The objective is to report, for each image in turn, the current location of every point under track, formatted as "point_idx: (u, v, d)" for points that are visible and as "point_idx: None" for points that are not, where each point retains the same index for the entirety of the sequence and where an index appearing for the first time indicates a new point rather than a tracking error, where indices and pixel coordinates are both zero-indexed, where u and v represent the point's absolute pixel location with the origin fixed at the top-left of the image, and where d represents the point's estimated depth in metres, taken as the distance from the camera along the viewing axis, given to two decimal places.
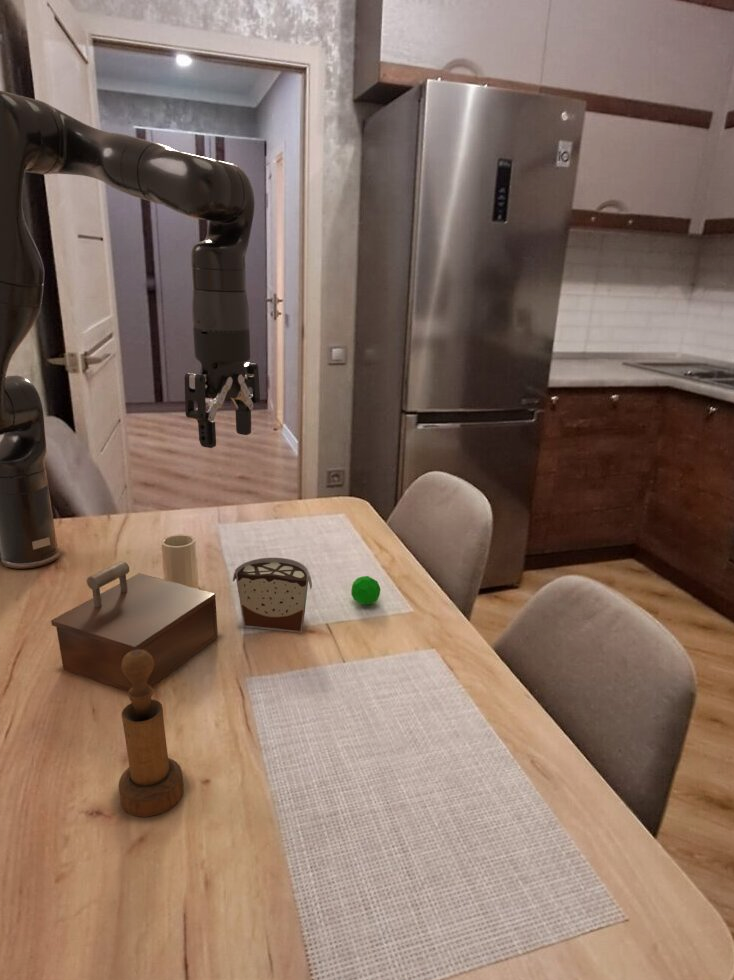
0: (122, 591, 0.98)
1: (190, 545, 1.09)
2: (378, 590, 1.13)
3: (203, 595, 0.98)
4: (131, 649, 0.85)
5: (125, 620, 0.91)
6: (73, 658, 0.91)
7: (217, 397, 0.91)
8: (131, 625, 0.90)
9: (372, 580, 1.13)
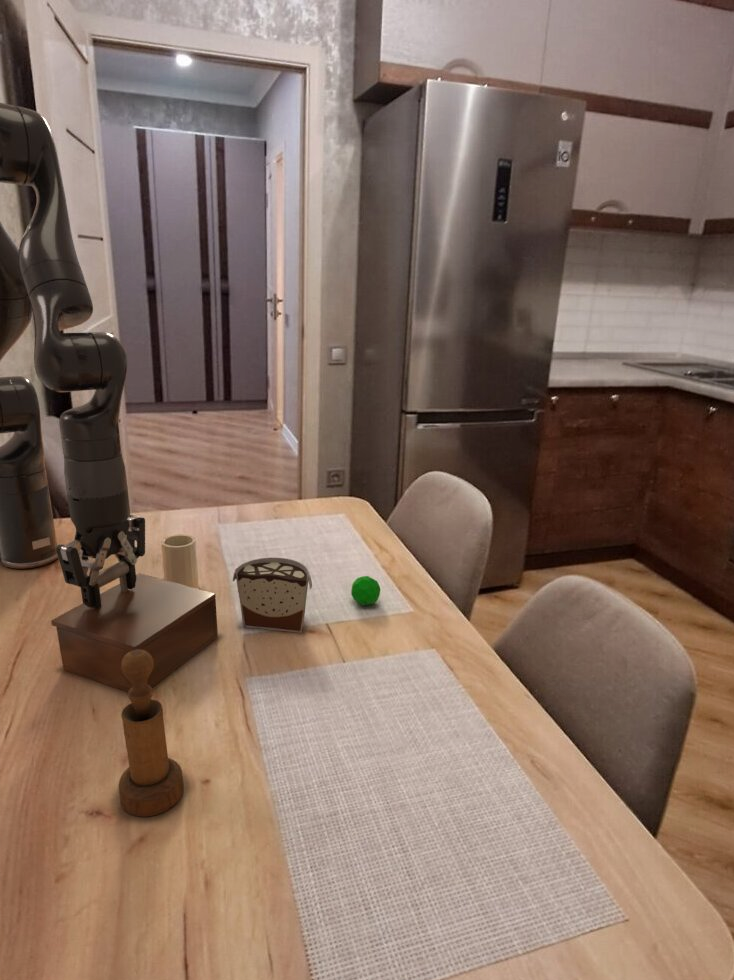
0: (122, 591, 0.98)
1: (190, 545, 1.09)
2: (378, 590, 1.13)
3: (203, 595, 0.98)
4: (131, 649, 0.85)
5: (125, 620, 0.91)
6: (73, 658, 0.91)
7: (96, 561, 0.90)
8: (131, 625, 0.90)
9: (372, 580, 1.13)
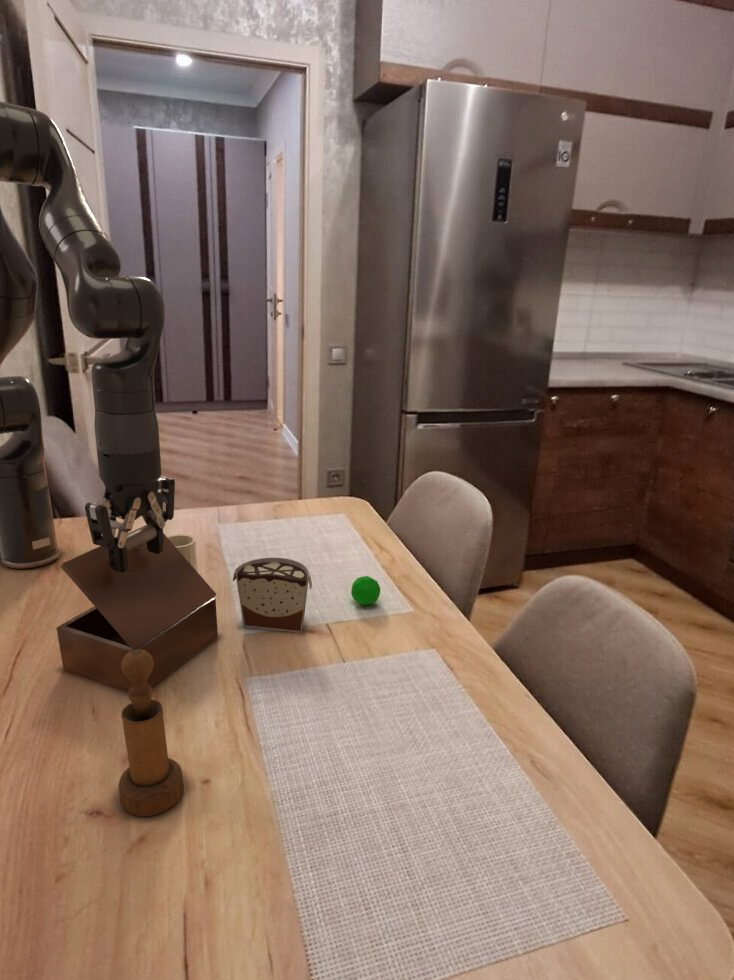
0: (135, 548, 0.94)
1: (190, 545, 1.09)
2: (378, 590, 1.13)
3: (205, 592, 0.98)
4: (131, 646, 0.85)
5: (132, 598, 0.89)
6: (73, 658, 0.91)
7: (125, 522, 0.85)
8: (137, 611, 0.88)
9: (372, 580, 1.13)
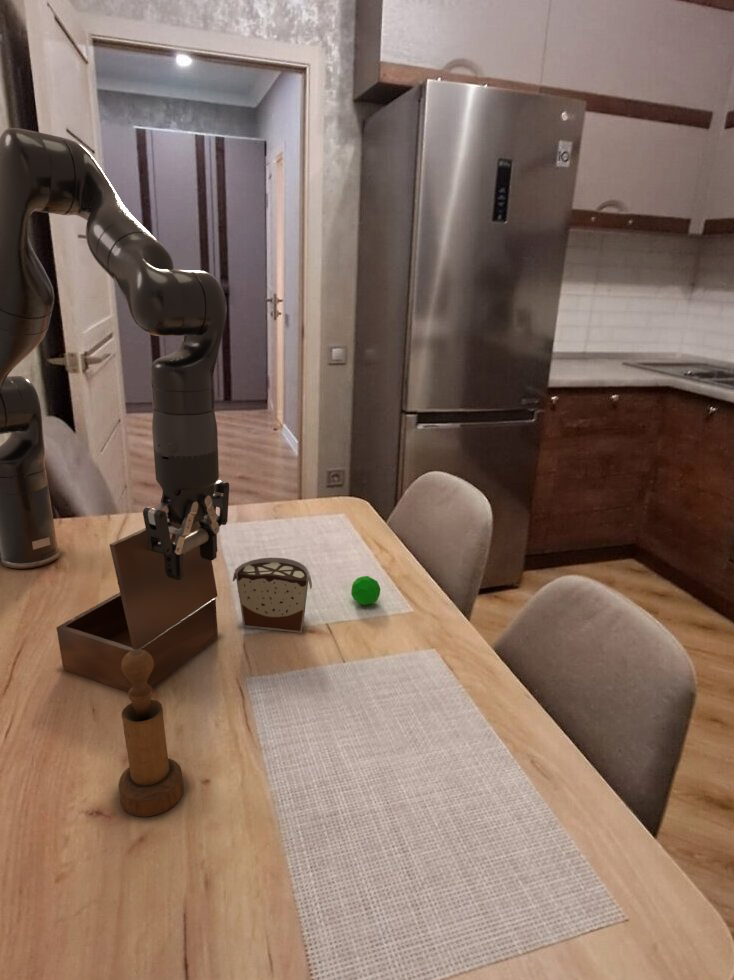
0: None
1: None
2: (378, 590, 1.13)
3: (210, 593, 0.98)
4: (133, 645, 0.85)
5: (153, 593, 0.87)
6: (73, 658, 0.91)
7: (182, 527, 0.82)
8: (152, 608, 0.87)
9: (372, 580, 1.13)
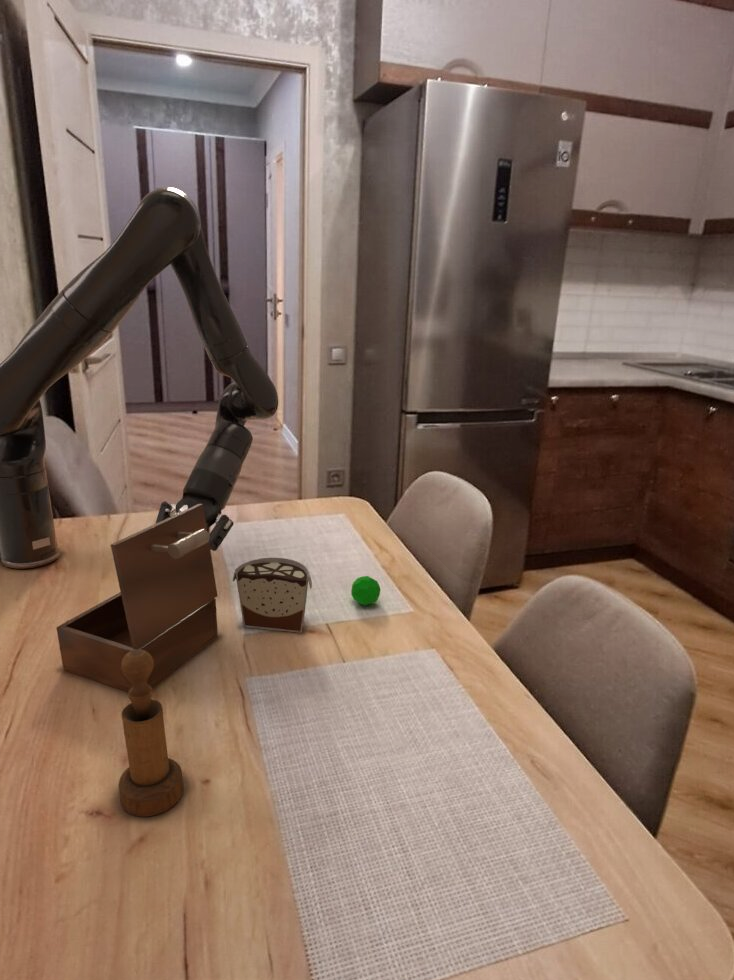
0: (178, 535, 0.90)
1: None
2: (378, 590, 1.13)
3: (210, 593, 0.98)
4: (133, 645, 0.85)
5: (154, 594, 0.87)
6: (73, 658, 0.91)
7: (209, 533, 1.13)
8: (152, 608, 0.87)
9: (372, 580, 1.13)
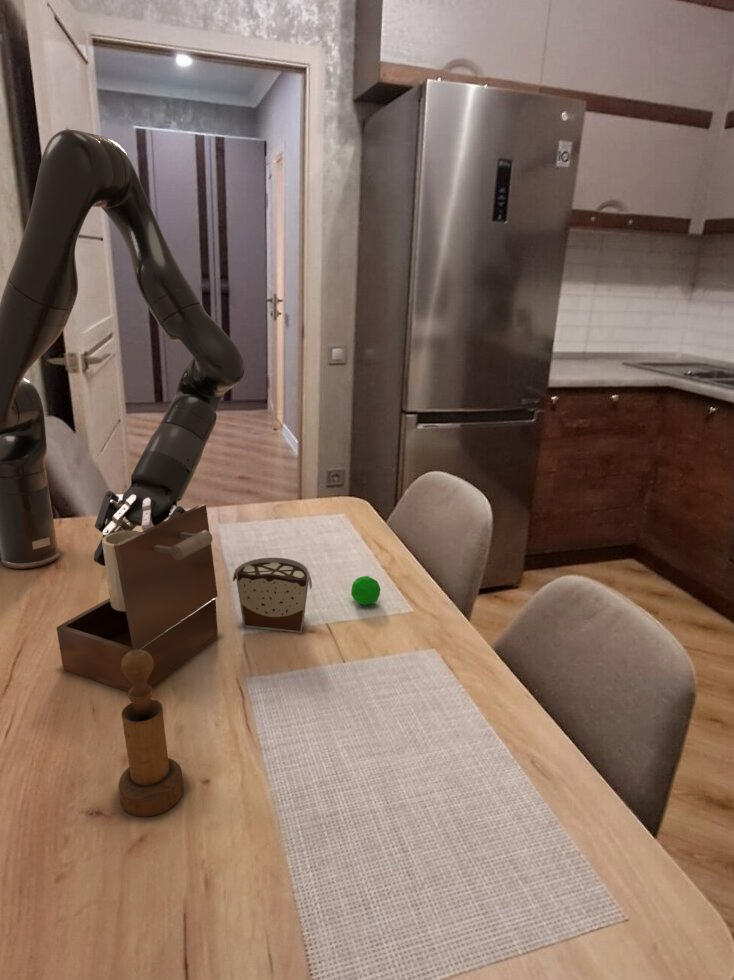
0: (180, 535, 0.90)
1: None
2: (378, 590, 1.13)
3: (210, 593, 0.98)
4: (133, 645, 0.85)
5: (155, 594, 0.87)
6: (73, 658, 0.91)
7: None
8: (153, 609, 0.87)
9: (372, 580, 1.13)
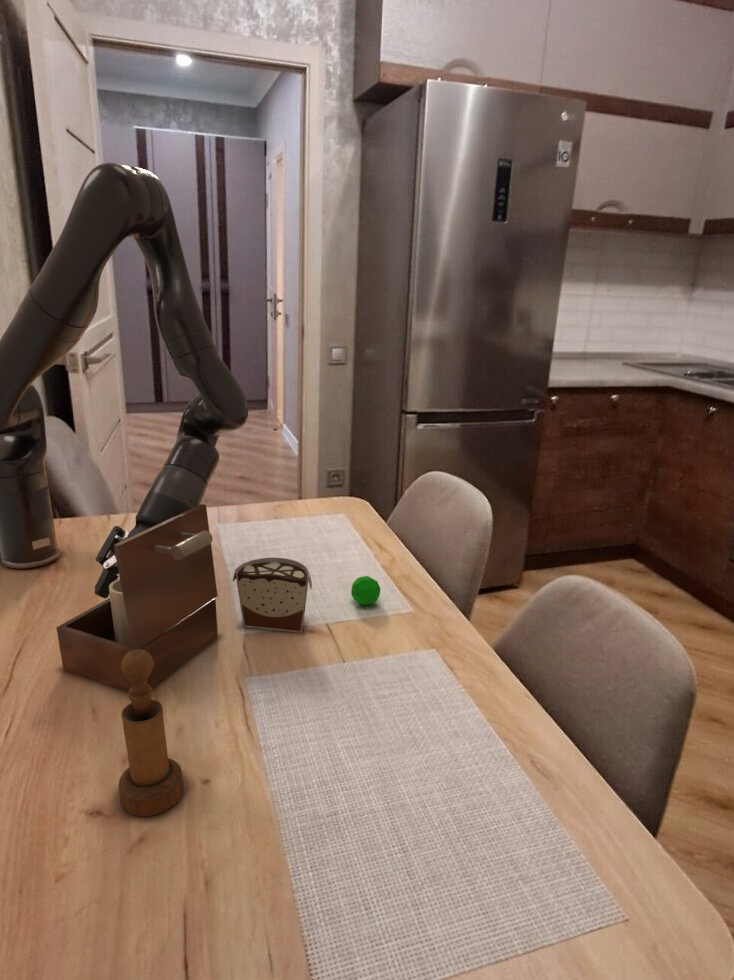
0: (180, 535, 0.90)
1: None
2: (378, 590, 1.13)
3: (210, 593, 0.98)
4: (133, 645, 0.85)
5: (155, 594, 0.87)
6: (73, 658, 0.91)
7: None
8: (153, 609, 0.87)
9: (372, 580, 1.13)
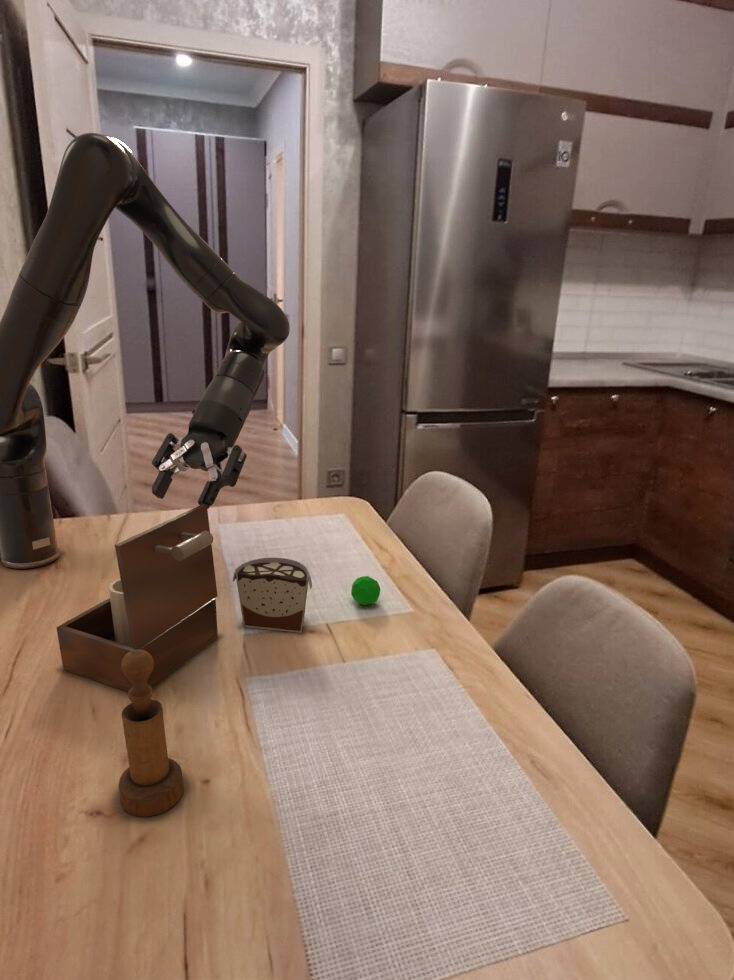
0: (181, 536, 0.90)
1: None
2: (378, 590, 1.13)
3: (211, 593, 0.98)
4: (133, 645, 0.85)
5: (155, 594, 0.87)
6: (73, 658, 0.91)
7: (221, 469, 1.03)
8: (153, 609, 0.87)
9: (372, 580, 1.13)
